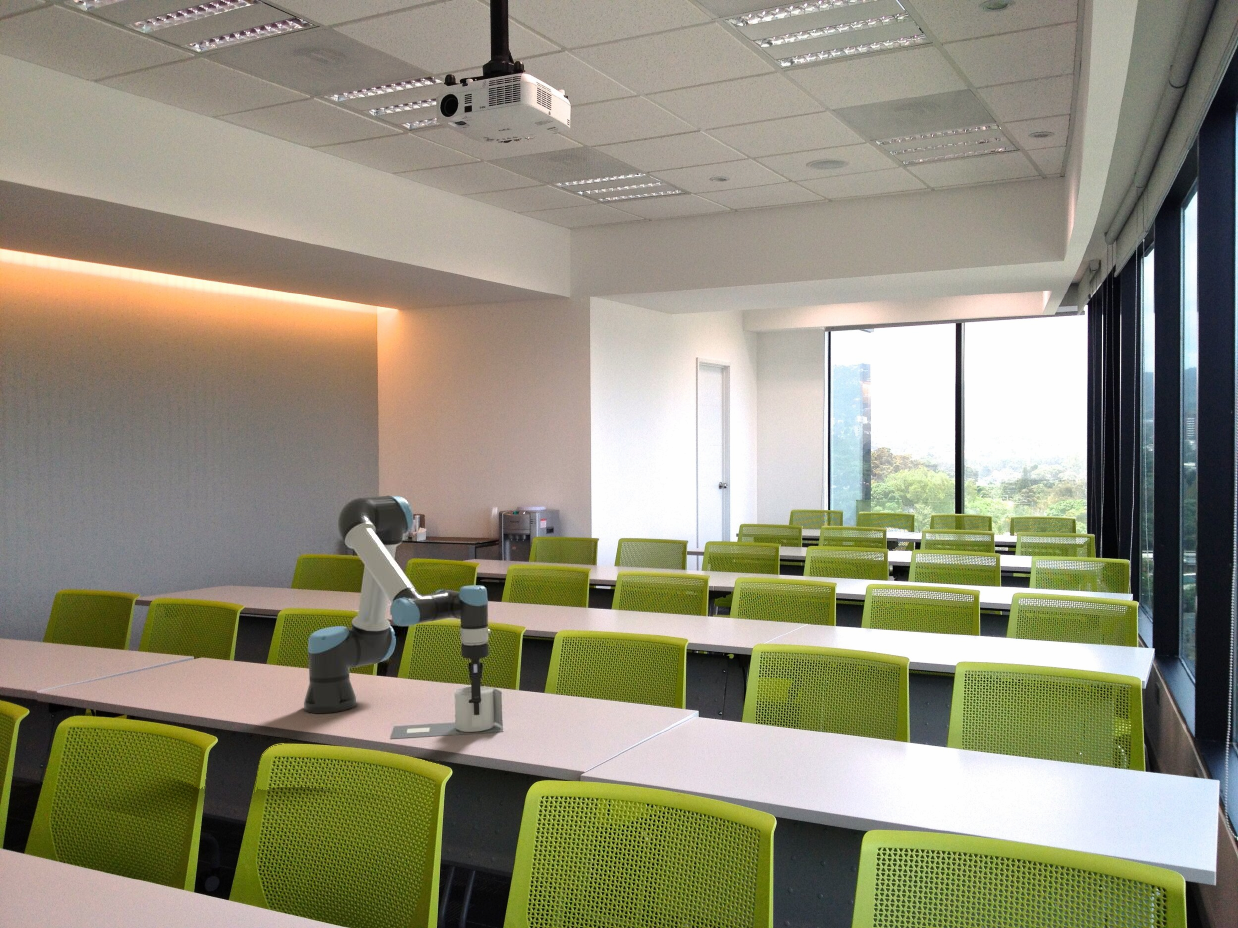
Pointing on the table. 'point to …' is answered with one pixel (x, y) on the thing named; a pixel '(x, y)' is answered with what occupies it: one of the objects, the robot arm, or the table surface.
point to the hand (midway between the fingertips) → (477, 719)
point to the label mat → (435, 730)
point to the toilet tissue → (490, 709)
